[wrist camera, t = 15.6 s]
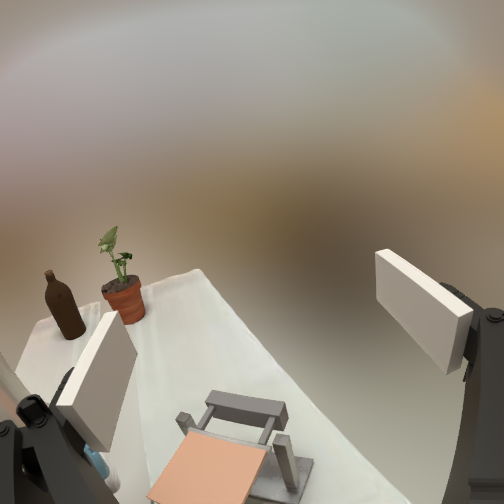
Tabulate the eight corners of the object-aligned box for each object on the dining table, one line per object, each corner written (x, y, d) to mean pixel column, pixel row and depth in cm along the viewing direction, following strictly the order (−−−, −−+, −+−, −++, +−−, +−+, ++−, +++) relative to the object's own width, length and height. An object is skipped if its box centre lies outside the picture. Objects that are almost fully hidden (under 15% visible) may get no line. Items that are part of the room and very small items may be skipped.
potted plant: (160, 305, 106) (130, 211, 94) (138, 329, 93) (100, 226, 81) (128, 304, 111) (98, 218, 99) (105, 326, 98) (69, 233, 86)
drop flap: (218, 405, 43) (210, 389, 41) (290, 418, 38) (286, 402, 36) (156, 504, 27) (141, 493, 25) (238, 537, 22) (228, 530, 21)
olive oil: (92, 325, 99) (66, 263, 91) (76, 342, 90) (46, 277, 81) (74, 324, 102) (49, 266, 93) (58, 340, 92) (30, 279, 84)
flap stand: (222, 444, 48) (194, 386, 42) (313, 462, 41) (306, 404, 35) (200, 481, 40) (163, 429, 35) (297, 506, 33) (285, 461, 28)
